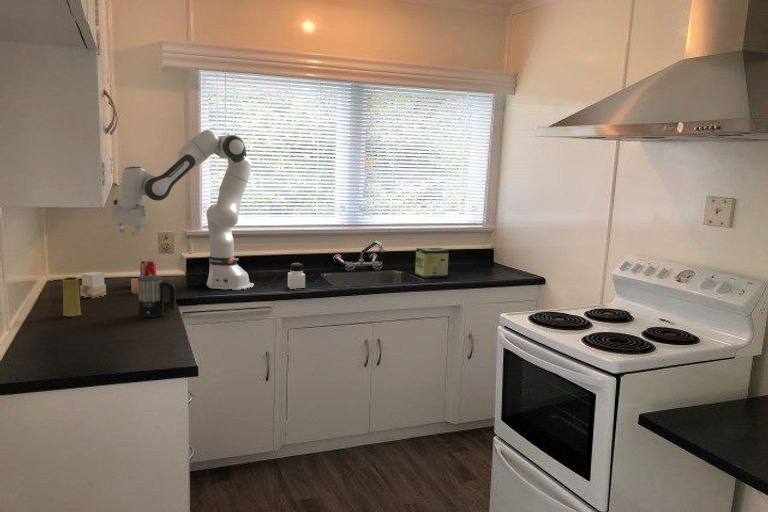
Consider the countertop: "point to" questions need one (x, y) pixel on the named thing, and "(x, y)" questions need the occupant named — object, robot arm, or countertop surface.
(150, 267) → the soda can
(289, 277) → the medicine bottle
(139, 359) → the countertop surface
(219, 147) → the robot arm
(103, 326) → the countertop surface
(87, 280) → the tower top
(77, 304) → the vase
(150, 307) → the milk frother
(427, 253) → the protein box
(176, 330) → the countertop surface
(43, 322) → the countertop surface
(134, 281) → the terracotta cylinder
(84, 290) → the tower base
